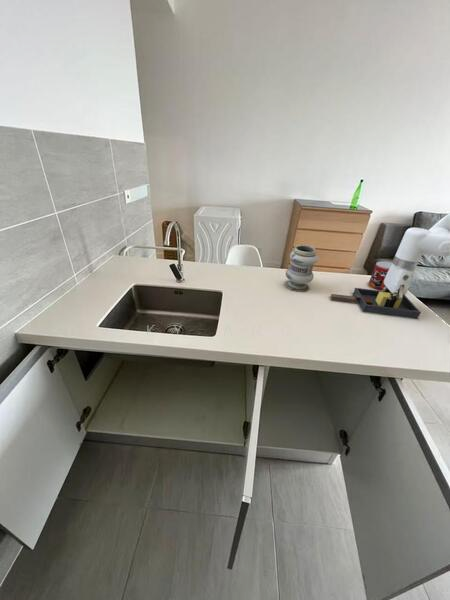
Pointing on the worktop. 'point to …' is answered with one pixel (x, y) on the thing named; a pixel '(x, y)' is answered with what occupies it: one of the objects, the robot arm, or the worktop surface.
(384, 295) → the sponge
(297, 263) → the apothecary jar
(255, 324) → the worktop surface
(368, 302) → the plate
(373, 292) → the pan
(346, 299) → the pan handle
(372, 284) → the canned food
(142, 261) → the worktop surface
